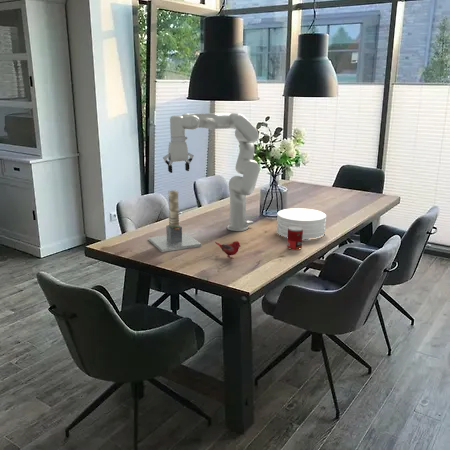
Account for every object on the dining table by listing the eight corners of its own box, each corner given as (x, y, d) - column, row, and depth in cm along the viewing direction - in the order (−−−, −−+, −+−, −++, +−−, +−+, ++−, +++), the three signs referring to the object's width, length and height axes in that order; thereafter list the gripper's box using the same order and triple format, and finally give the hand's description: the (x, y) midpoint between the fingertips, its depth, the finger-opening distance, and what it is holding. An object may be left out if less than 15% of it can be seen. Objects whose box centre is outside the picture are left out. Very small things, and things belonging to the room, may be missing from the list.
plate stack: (331, 230, 297) (332, 211, 294) (316, 243, 273) (317, 223, 270) (287, 223, 310) (287, 206, 306) (269, 235, 286) (269, 216, 283)
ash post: (176, 226, 271) (175, 190, 265) (179, 228, 268) (178, 191, 262) (169, 227, 269) (168, 190, 264) (171, 229, 266) (171, 192, 260)
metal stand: (185, 235, 285) (185, 219, 282) (201, 246, 266) (201, 229, 264) (148, 240, 276) (147, 223, 273) (161, 252, 257) (161, 234, 254)
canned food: (298, 251, 260) (299, 231, 257) (284, 248, 264) (285, 228, 261) (304, 247, 267) (305, 227, 263) (290, 244, 271) (291, 225, 267)
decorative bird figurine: (238, 262, 244) (238, 242, 241) (212, 253, 255) (212, 235, 252) (242, 260, 246) (242, 241, 243) (216, 252, 257) (216, 233, 254)
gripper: (189, 137, 271) (190, 169, 276) (159, 139, 263) (161, 172, 268) (195, 139, 265) (196, 171, 270) (165, 141, 257) (166, 174, 262)
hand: (178, 171), depth 269 cm, fingers open, 9 cm apart
